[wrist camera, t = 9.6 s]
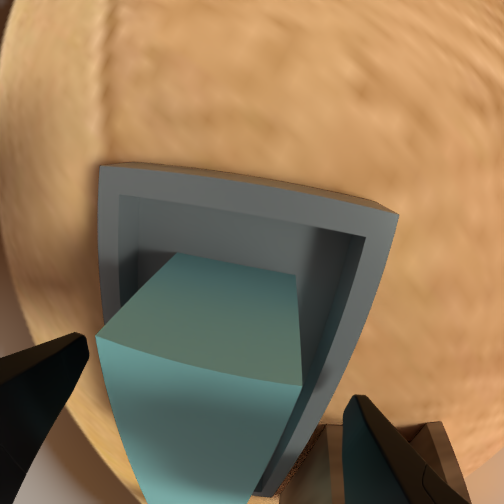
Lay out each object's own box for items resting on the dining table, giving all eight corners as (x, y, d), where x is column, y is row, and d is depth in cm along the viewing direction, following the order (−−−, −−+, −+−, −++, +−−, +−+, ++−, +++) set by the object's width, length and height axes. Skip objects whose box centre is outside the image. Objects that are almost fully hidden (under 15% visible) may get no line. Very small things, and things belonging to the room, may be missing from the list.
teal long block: (243, 458, 13) (230, 530, 9) (176, 443, 14) (151, 511, 9) (295, 275, 9) (302, 386, 5) (177, 252, 10) (95, 335, 5)
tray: (273, 471, 15) (271, 497, 13) (149, 444, 15) (138, 467, 13) (375, 201, 9) (399, 215, 7) (133, 162, 9) (99, 165, 7)
